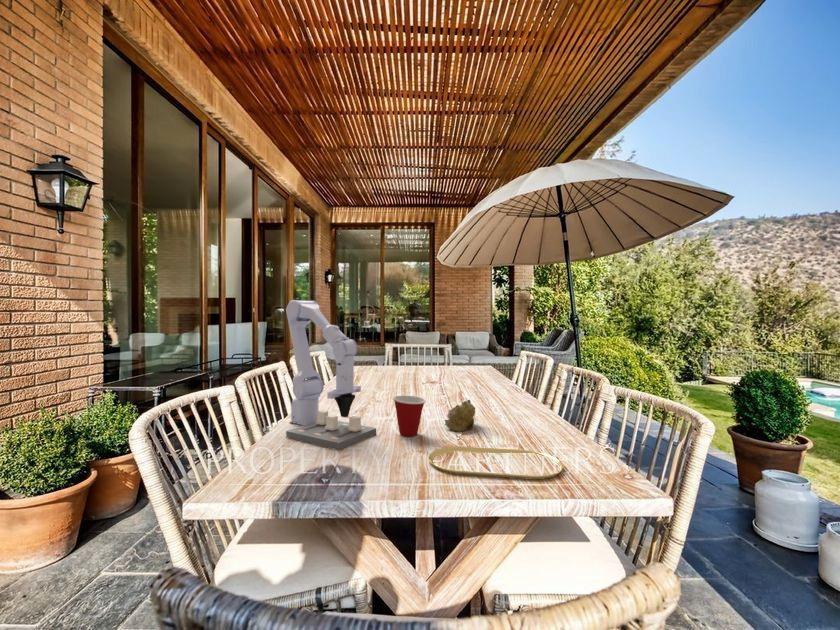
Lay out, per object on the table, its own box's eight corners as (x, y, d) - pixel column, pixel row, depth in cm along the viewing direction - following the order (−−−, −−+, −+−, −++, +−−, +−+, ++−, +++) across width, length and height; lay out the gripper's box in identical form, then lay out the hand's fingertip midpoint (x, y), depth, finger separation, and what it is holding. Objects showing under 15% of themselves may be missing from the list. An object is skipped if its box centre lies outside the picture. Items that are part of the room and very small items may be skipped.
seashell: (474, 425, 152) (473, 397, 152) (478, 432, 137) (477, 402, 138) (444, 425, 152) (443, 397, 153) (445, 432, 137) (444, 402, 138)
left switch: (315, 423, 138) (315, 411, 138) (322, 421, 140) (322, 409, 140) (322, 425, 136) (322, 413, 136) (329, 422, 139) (329, 411, 139)
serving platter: (569, 485, 97) (570, 478, 97) (423, 474, 102) (424, 468, 102) (555, 457, 116) (555, 451, 116) (432, 450, 121) (432, 444, 121)
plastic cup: (427, 439, 130) (427, 401, 130) (393, 439, 129) (393, 401, 129) (424, 429, 141) (424, 394, 140) (392, 429, 140) (392, 394, 140)
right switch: (347, 430, 131) (347, 417, 130) (354, 427, 133) (354, 415, 133) (355, 431, 129) (355, 419, 129) (362, 429, 132) (362, 416, 132)
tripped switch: (324, 429, 132) (324, 416, 132) (331, 426, 134) (331, 414, 134) (332, 430, 130) (332, 418, 130) (339, 428, 133) (339, 415, 133)
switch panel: (286, 437, 130) (286, 430, 130) (326, 424, 145) (326, 418, 145) (338, 449, 119) (338, 442, 119) (376, 434, 134) (376, 427, 134)
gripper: (339, 380, 129) (338, 423, 129) (367, 374, 141) (367, 413, 141) (322, 378, 132) (322, 420, 133) (352, 372, 145) (351, 410, 145)
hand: (344, 416), depth 137 cm, fingers closed
